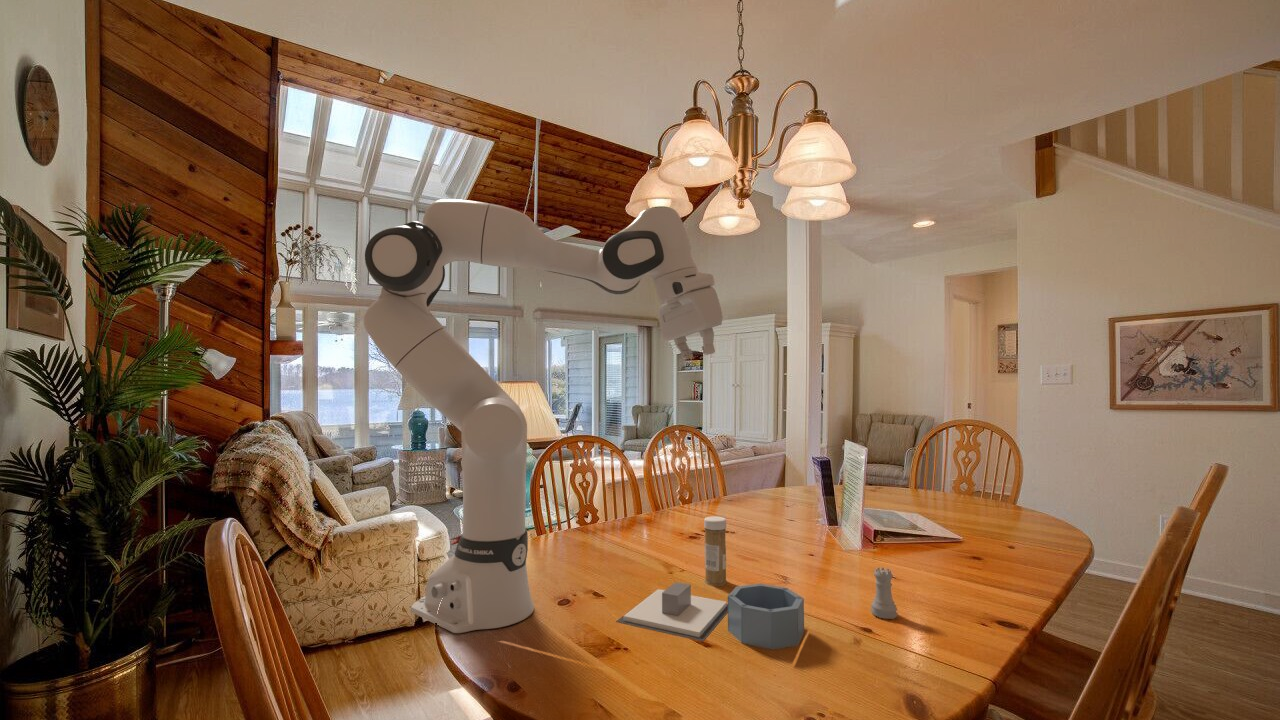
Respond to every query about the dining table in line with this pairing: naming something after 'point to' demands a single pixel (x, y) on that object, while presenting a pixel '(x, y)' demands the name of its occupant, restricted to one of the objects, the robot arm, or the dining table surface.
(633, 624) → the mat
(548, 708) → the dining table surface
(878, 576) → the rook chess piece
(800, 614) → the bowl
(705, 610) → the lid
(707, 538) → the sprinkles bottle
